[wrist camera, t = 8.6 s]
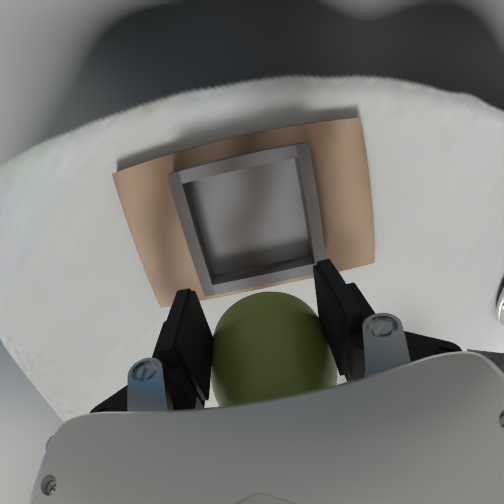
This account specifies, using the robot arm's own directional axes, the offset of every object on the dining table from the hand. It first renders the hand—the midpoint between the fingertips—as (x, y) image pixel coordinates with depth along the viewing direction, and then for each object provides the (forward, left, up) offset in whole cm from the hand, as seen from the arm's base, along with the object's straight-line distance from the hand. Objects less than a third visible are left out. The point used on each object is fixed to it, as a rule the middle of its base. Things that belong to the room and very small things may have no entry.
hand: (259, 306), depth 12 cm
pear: (0, +2, -3) cm, 4 cm away
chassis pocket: (0, 0, -14) cm, 14 cm away
